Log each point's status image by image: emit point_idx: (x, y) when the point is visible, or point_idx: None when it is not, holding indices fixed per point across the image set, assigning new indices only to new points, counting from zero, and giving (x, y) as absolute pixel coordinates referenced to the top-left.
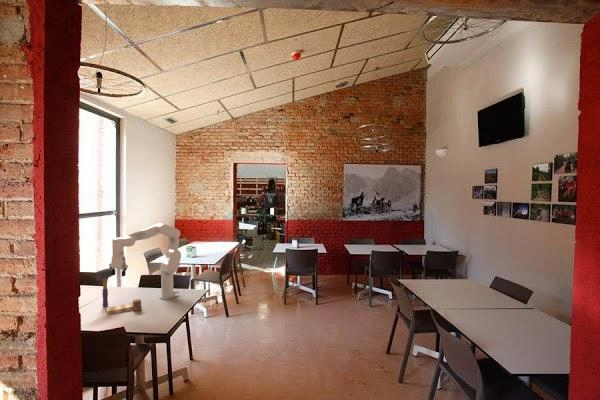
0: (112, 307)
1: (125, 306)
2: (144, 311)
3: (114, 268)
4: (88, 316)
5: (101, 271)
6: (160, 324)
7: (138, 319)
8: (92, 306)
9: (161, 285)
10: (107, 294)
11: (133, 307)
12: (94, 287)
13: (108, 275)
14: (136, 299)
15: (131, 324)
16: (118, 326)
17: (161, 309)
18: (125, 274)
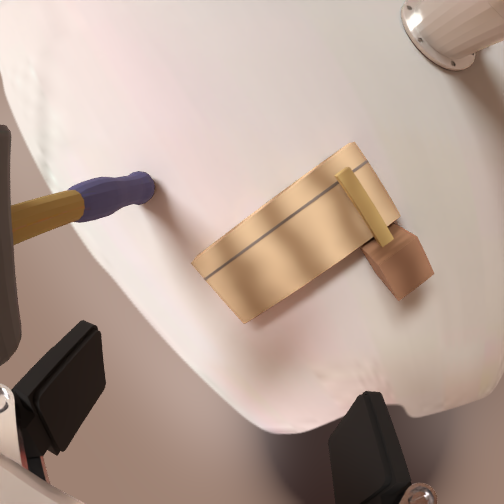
0: (231, 261)
1: (310, 241)
2: None
3: (13, 439)
4: (163, 328)
5: None
6: (482, 371)
7: (419, 351)
8: None
9: (458, 9)
10: (119, 196)
11: (374, 267)
12: (3, 3)
13: (1, 259)
14: (400, 254)
15: (403, 390)
16: None
17: (484, 234)
18: (385, 408)
